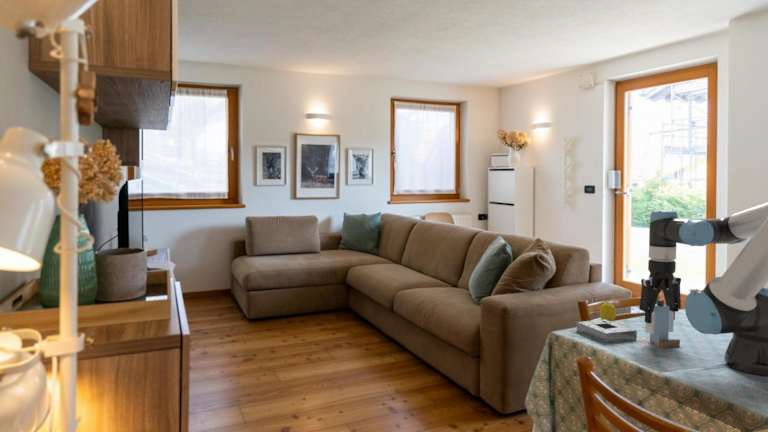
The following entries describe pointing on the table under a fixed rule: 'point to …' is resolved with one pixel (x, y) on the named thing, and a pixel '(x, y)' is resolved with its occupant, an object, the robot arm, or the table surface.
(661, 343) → the holster
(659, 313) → the grey square bottle
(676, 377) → the table surface
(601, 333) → the panel
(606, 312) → the lemon
